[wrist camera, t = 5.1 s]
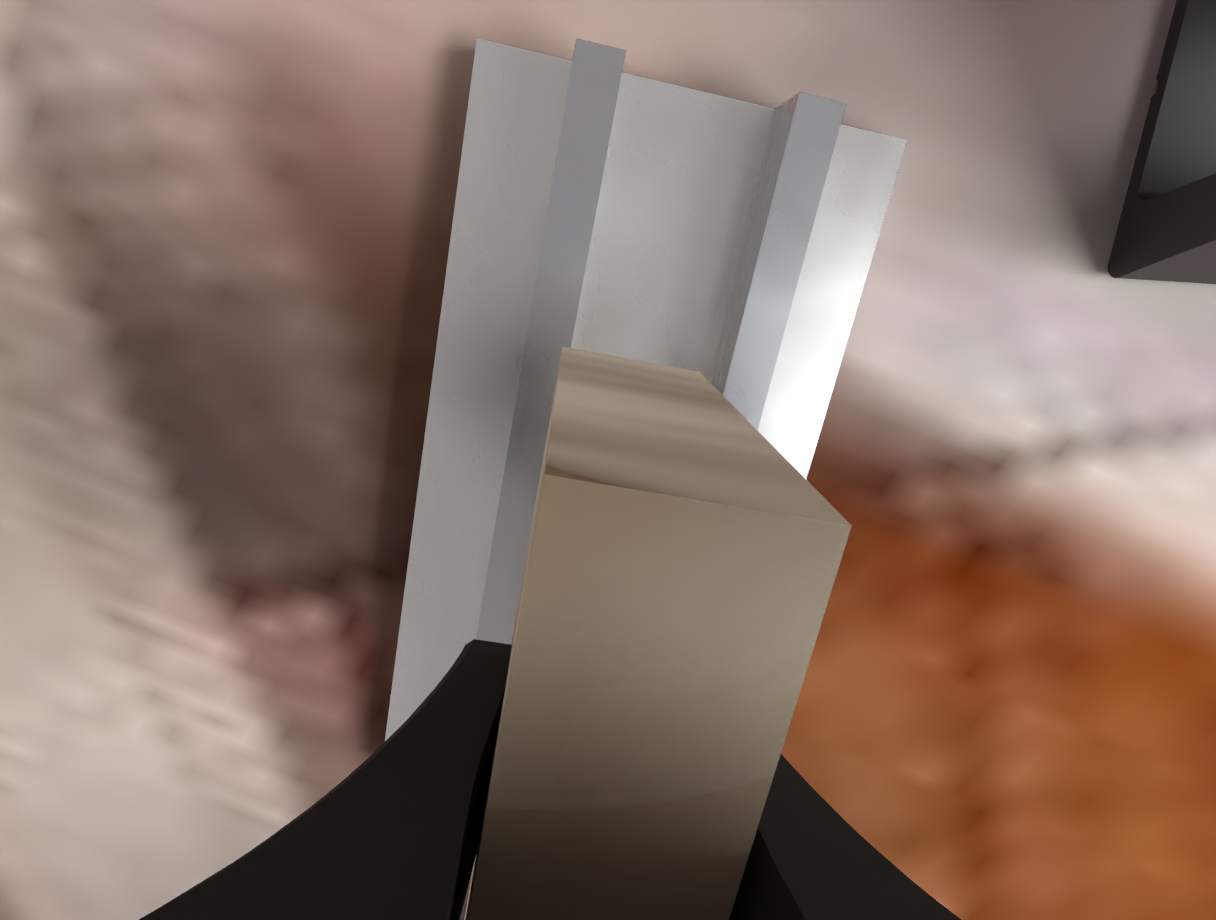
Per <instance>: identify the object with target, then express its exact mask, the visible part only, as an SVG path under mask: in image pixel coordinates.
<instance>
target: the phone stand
mask: <svg viewBox="0 0 1216 920" xmlns="http://www.w3.org/2000/svg"><path fill="white" fill-rule="evenodd" d="M1156 80H1160V88H1159V90H1158V92H1157V93H1156V94H1155V95H1154V96H1152V98H1151V102H1150V105H1149V109H1148V113H1147V117H1146V121H1145V125H1144V129H1143V132H1142V136H1141V140H1140V144H1139V148H1138V152H1137V156H1136V159H1135V163H1134V167H1133V171H1132V175H1131V179H1130V183H1129V186H1128V190H1127V194H1126V198H1125V202H1124V206H1123V210H1122V213H1121V217H1120V221H1119V225H1118V229H1117V233H1116V237H1115V240H1114V244H1113V248H1112V252H1111V256H1110V260H1109V264H1108V271H1109V274H1110V275H1111V276H1112V277H1114V278H1127V279H1143V280H1159V281H1175V282H1191V283H1207V284H1216V0H1177V1H1176V5H1175V9H1174V13H1173V17H1172V21H1171V24H1170V28H1169V32H1168V36H1167V40H1166V44H1165V48H1164V51H1163V55H1162V59H1161V63H1160V67H1159V71H1158V75H1157V78H1156Z"/></svg>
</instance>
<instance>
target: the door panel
mask: <svg viewBox="0 0 1216 920" xmlns="http://www.w3.org/2000/svg"><path fill="white" fill-rule="evenodd" d="M850 529H851V525H850V524H849V523H848V522H847V521H846V520H845V519H844V518H843V516H842V515H841V514H840V513H839V512H838V511H837V510H836V509H835V508H834V507H833V506H832V505H831V504H830V503H829V502H828V501H827V500H826V499H825V498H824V497H823V496H822V495H821V494H820V493H819V492H818V491H817V490H816V489H815V488H814V487H813V486H812V485H811V484H810V483H809V482H808V481H807V480H806V479H805V478H804V477H803V476H802V475H801V474H800V473H799V472H798V471H797V470H796V469H795V468H794V467H793V466H792V465H791V464H790V463H789V462H788V461H787V460H786V459H785V458H784V457H783V456H782V455H781V454H780V453H779V452H778V451H777V450H776V449H775V448H774V447H773V446H772V445H771V444H770V443H769V442H768V441H767V440H766V439H765V438H764V437H763V436H762V435H761V434H760V433H759V432H758V431H757V430H756V429H755V428H754V427H753V426H752V425H751V424H750V423H749V422H748V421H747V420H746V419H745V418H744V416H743V415H742V414H741V413H740V412H739V411H738V410H737V409H736V408H735V407H734V406H733V405H732V404H731V403H730V402H729V401H728V400H727V399H726V398H725V397H724V396H723V395H722V394H721V393H720V392H719V391H718V390H717V389H716V388H715V387H714V386H713V385H712V384H711V383H710V382H709V381H708V380H707V379H706V378H705V377H704V376H703V375H702V374H701V373H700V372H698V371H692V370H687V369H682V368H676V367H671V366H665V365H660V364H655V363H649V362H644V361H638V360H633V359H628V358H622V357H617V356H612V355H606V354H601V353H595V352H590V351H585V350H579V349H574V348H568V347H563V346H562V351H561V357H560V363H559V369H558V374H557V380H556V386H555V392H554V398H553V403H552V409H551V415H550V421H549V427H548V433H547V438H546V444H545V450H544V456H543V462H542V467H541V473H540V479H539V485H538V491H537V496H536V502H535V508H534V514H533V520H532V526H531V531H530V537H529V543H528V549H527V555H526V560H525V566H524V572H523V578H522V584H521V589H520V595H519V601H518V607H517V613H516V619H515V624H514V630H513V636H512V642H511V645H512V648H511V654H510V661H509V667H508V674H507V680H506V686H505V692H504V698H503V704H502V709H501V715H500V721H499V727H498V733H497V738H496V744H495V750H494V756H493V761H492V767H491V773H490V779H489V785H488V790H487V796H486V802H485V808H484V814H483V819H482V825H481V831H480V837H479V842H478V848H477V854H476V858H475V862H474V865H473V870H472V876H471V882H470V888H469V894H468V900H467V906H466V912H465V918H464V920H729V918H730V915H731V912H732V909H733V905H734V902H735V899H736V896H737V892H738V889H739V886H740V883H741V880H742V876H743V873H744V870H745V867H746V864H747V860H748V857H749V854H750V851H751V847H752V844H753V841H754V838H755V835H756V831H757V828H758V825H759V822H760V819H761V815H762V812H763V809H764V806H765V802H766V799H767V796H768V793H769V790H770V786H771V783H772V780H773V777H774V774H775V770H776V767H777V764H778V761H779V757H780V754H781V751H782V748H783V745H784V741H785V738H786V735H787V732H788V729H789V725H790V722H791V719H792V716H793V712H794V709H795V706H796V703H797V700H798V696H799V693H800V690H801V687H802V684H803V680H804V677H805V674H806V671H807V667H808V664H809V661H810V658H811V655H812V651H813V648H814V645H815V642H816V638H817V635H818V632H819V629H820V626H821V622H822V619H823V616H824V613H825V610H826V606H827V603H828V600H829V597H830V593H831V590H832V587H833V584H834V581H835V577H836V574H837V571H838V568H839V565H840V561H841V558H842V555H843V552H844V548H845V545H846V542H847V539H848V536H849V532H850Z"/></svg>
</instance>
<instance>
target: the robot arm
mask: <svg viewBox="0 0 1216 920" xmlns="http://www.w3.org/2000/svg"><path fill="white" fill-rule="evenodd" d="M511 648H512V645H511V644H504V643H497V642H490V641H484V640H477V639H474V640H472V641H470V642H469V643H467V644H466V645H465V646H464V648H463V650H462V652H461V653H460V655H459V656H458V658H457V660H456V661H455V662H454V664H453V665H452V667H451V668H450V669H449V671H448V672H447V673H446V675H445V676H444V677H443V678H442V680H441V681H440V682H439V684H438V685H437V686H436V687H435V688H434V690H433V691H432V692H431V693H430V694H429V695H428V697H427V698H426V699H425V700H424V701H423V702H422V703H421V704H420V706H419V707H418V708H417V709H416V710H415V711H414V712H413V714H412V715H411V716H410V717H409V718H408V719H407V720H406V721H405V722H404V723H403V724H402V725H401V726H400V727H399V728H398V729H397V730H396V731H395V732H394V733H393V734H392V735H391V736H390V737H389V738H388V739H387V740H386V741H385V742H384V743H383V744H382V745H381V746H380V747H379V748H378V749H377V750H376V751H375V752H374V753H373V754H372V755H371V756H370V757H369V758H368V759H367V760H366V761H365V762H363V763H362V764H361V765H360V766H359V767H358V768H357V769H356V770H355V771H353V772H352V773H351V774H350V775H349V776H348V777H347V778H345V779H344V780H343V781H342V782H341V783H340V784H338V785H337V786H336V787H335V788H334V789H332V790H331V791H330V792H329V793H327V794H326V795H325V796H324V797H323V798H321V799H320V800H319V801H318V802H316V803H315V804H314V805H313V806H311V807H310V808H309V809H308V810H306V811H305V812H303V813H302V814H301V815H299V816H298V817H297V818H295V819H294V820H293V821H291V822H290V823H289V824H287V825H286V826H284V827H283V828H282V829H280V830H279V831H278V832H276V833H275V834H274V835H272V836H271V837H270V838H268V839H267V840H265V841H264V842H263V843H261V844H260V845H258V846H257V847H255V848H254V849H252V850H251V851H250V852H248V853H247V854H245V855H244V856H242V857H241V858H239V859H238V860H236V861H235V862H233V863H232V864H230V865H228V866H227V867H225V868H223V869H222V870H220V871H219V872H217V873H215V874H214V875H212V876H210V877H209V878H207V879H206V880H204V881H202V882H201V883H199V884H197V885H196V886H194V887H193V888H191V889H189V890H188V891H186V892H184V893H183V894H181V895H180V896H178V897H176V898H175V899H173V900H171V901H170V902H168V903H167V904H165V905H163V906H162V907H160V908H158V909H157V910H155V911H153V912H151V913H150V914H148V915H146V916H144V917H143V918H141V919H139V920H459V919H460V915H461V911H462V908H463V904H464V900H465V896H466V892H467V888H468V885H469V881H470V877H471V873H472V869H473V865H474V862H475V858H476V854H477V848H478V842H479V837H480V831H481V825H482V819H483V814H484V808H485V802H486V796H487V790H488V785H489V779H490V773H491V767H492V761H493V756H494V750H495V744H496V738H497V733H498V727H499V721H500V715H501V709H502V704H503V698H504V692H505V686H506V680H507V674H508V667H509V661H510V654H511ZM729 920H961V919H960V918H958V917H957V916H956V915H954V914H953V913H952V912H950V911H949V910H948V909H947V908H945V907H944V906H943V905H941V904H940V903H939V902H937V901H936V900H935V899H934V898H932V897H931V896H930V895H929V894H927V893H926V892H925V891H924V890H923V889H921V888H920V887H919V886H918V885H916V884H915V883H914V882H913V881H912V880H910V879H909V878H908V877H907V876H906V875H905V874H903V873H902V872H901V871H900V870H899V869H898V868H897V867H895V866H894V865H893V864H892V863H891V862H890V861H889V860H887V859H886V858H885V857H884V856H883V855H882V854H881V853H879V852H878V851H877V850H876V849H875V848H874V847H873V846H871V845H870V844H869V843H868V842H867V841H866V840H865V839H864V838H863V837H862V836H860V835H859V834H858V833H857V832H856V831H855V830H854V829H853V828H852V827H851V826H850V825H849V824H848V823H847V822H846V821H845V820H844V819H843V818H842V817H841V816H840V815H839V814H838V813H837V812H836V811H835V810H834V809H833V808H832V807H831V806H830V805H829V804H828V803H827V802H826V801H825V800H824V799H823V798H822V797H821V796H820V795H819V794H818V793H817V792H816V791H815V790H814V789H813V788H812V787H811V786H810V785H809V784H808V783H807V782H806V781H805V780H804V779H803V777H802V776H801V775H800V774H799V773H798V772H797V771H796V770H795V769H794V768H793V767H792V766H791V764H790V763H789V762H788V761H787V760H786V759H785V758H784V757H783V756H782V754H780V757H779V761H778V764H777V767H776V770H775V774H774V777H773V780H772V783H771V786H770V790H769V793H768V796H767V799H766V802H765V806H764V809H763V812H762V815H761V819H760V822H759V825H758V828H757V831H756V835H755V838H754V841H753V844H752V847H751V851H750V854H749V857H748V860H747V864H746V867H745V870H744V873H743V876H742V880H741V883H740V886H739V889H738V892H737V896H736V899H735V902H734V905H733V909H732V912H731V915H730V918H729Z"/></svg>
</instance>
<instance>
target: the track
mask: <svg viewBox="0 0 1216 920" xmlns="http://www.w3.org/2000/svg"><path fill="white" fill-rule="evenodd" d="M625 54H626V50H622V49H618V48H614V47H610V46H606V45H601V44H597V43H593V42H589V41H585V40H581V39H576V43H575V49H574V55H573V60H568V59H564V58H560V57H556V56H552V55H547V54H543V53H539V52H535V51H530V50H526V49H522V48H518V47H514V46H509V45H505V44H501V43H497V42H493V41H488V40H484V39H480V38H477V40H476V47H475V55H474V63H473V70H472V78H471V85H470V93H469V101H468V108H467V116H466V124H465V131H464V139H463V147H462V154H461V162H460V170H459V177H458V185H457V192H456V200H455V208H454V215H453V223H452V231H451V238H450V246H449V254H448V261H447V269H446V277H445V284H444V292H443V300H442V307H441V315H440V322H439V330H438V338H437V345H436V353H435V361H434V368H433V376H432V384H431V391H430V399H429V407H428V414H427V422H426V429H425V437H424V445H423V452H422V460H421V468H420V475H419V483H418V491H417V498H416V506H415V514H414V521H413V529H412V536H411V544H410V552H409V559H408V567H407V575H406V582H405V590H404V598H403V605H402V613H401V621H400V628H399V636H398V644H397V651H396V659H395V666H394V674H393V682H392V689H391V697H390V705H389V712H388V720H387V728H386V735H385V741H386V740H387V739H388V738H389V737H390V736H391V735H392V734H393V733H394V732H395V731H396V730H397V729H398V728H399V727H400V726H401V725H402V724H403V723H404V722H405V721H406V720H407V719H408V718H409V717H410V716H411V715H412V714H413V712H414V711H415V710H416V709H417V708H418V707H419V706H420V704H421V703H422V702H423V701H424V700H425V699H426V698H427V697H428V695H429V694H430V693H431V692H432V691H433V690H434V688H435V687H436V686H437V685H438V684H439V682H440V681H441V680H442V678H443V677H444V676H445V675H446V673H447V672H448V671H449V669H450V668H451V667H452V665H453V664H454V662H455V661H456V660H457V658H458V656H459V655H460V653H461V652H462V650H463V648H464V646H465V645H466V644H467V643H469V642H470V641H472V640H474V639H477V640H484V641H490V642H497V643H504V644H511V642H512V636H513V630H514V624H515V619H516V613H517V607H518V601H519V595H520V589H521V584H522V578H523V572H524V566H525V560H526V555H527V549H528V543H529V537H530V531H531V526H532V520H533V514H534V508H535V502H536V496H537V491H538V485H539V479H540V473H541V467H542V462H543V456H544V450H545V444H546V438H547V433H548V427H549V421H550V415H551V409H552V403H553V398H554V392H555V386H556V380H557V374H558V369H559V363H560V357H561V351H562V346H563V347H568V348H574V349H579V350H585V351H590V352H595V353H601V354H606V355H612V356H617V357H622V358H628V359H633V360H638V361H644V362H649V363H655V364H660V365H665V366H671V367H676V368H682V369H687V370H692V371H698V372H700V373H701V374H702V375H703V376H704V377H705V378H706V379H707V380H708V381H709V382H710V383H711V384H712V385H713V386H714V387H715V388H716V389H717V390H718V391H719V392H720V393H721V394H722V395H723V396H724V397H725V398H726V399H727V400H728V401H729V402H730V403H731V404H732V405H733V406H734V407H735V408H736V409H737V410H738V411H739V412H740V413H741V414H742V415H743V416H744V418H745V419H746V420H747V421H748V422H749V423H750V424H751V425H752V426H753V427H754V428H755V429H756V430H757V431H758V432H759V433H760V434H761V435H762V436H763V437H764V438H765V439H766V440H767V441H768V442H769V443H770V444H771V445H772V446H773V447H774V448H775V449H776V450H777V451H778V452H779V453H780V454H781V455H782V456H783V457H784V458H785V459H786V460H787V461H788V462H789V463H790V464H791V465H792V466H793V467H794V468H795V469H796V470H797V471H798V472H799V473H800V474H801V475H802V476H803V477H804V478H805V479H806V478H807V475H808V472H809V468H810V465H811V462H812V458H813V455H814V451H815V448H816V445H817V441H818V438H819V435H820V431H821V428H822V425H823V421H824V418H825V415H826V411H827V408H828V405H829V401H830V398H831V394H832V391H833V388H834V384H835V381H836V378H837V374H838V371H839V368H840V364H841V361H842V358H843V354H844V351H845V348H846V344H847V341H848V337H849V334H850V331H851V327H852V324H853V321H854V317H855V314H856V311H857V307H858V304H859V301H860V297H861V294H862V291H863V287H864V284H865V280H866V277H867V274H868V270H869V267H870V264H871V260H872V257H873V254H874V250H875V247H876V244H877V240H878V237H879V233H880V230H881V227H882V223H883V220H884V217H885V213H886V210H887V207H888V203H889V200H890V197H891V193H892V190H893V187H894V183H895V180H896V176H897V173H898V170H899V166H900V163H901V160H902V156H903V153H904V150H905V146H906V143H907V140H906V139H901V138H897V137H893V136H889V135H885V134H880V133H876V132H872V131H868V130H864V129H859V128H855V127H851V126H847V125H842V124H841V121H842V118H843V114H844V110H845V107H846V103H843V102H838V101H834V100H830V99H826V98H822V97H818V96H813V95H809V94H805V93H801V92H799V93H798V94H796V95H795V96H793V97H792V98H790V99H789V100H787V101H786V102H784V103H783V104H782V105H780V106H779V107H777V108H776V109H775V108H771V107H767V106H762V105H758V104H754V103H750V102H745V101H741V100H737V99H733V98H729V97H724V96H720V95H716V94H712V93H708V92H703V91H699V90H695V89H691V88H686V87H682V86H678V85H674V84H670V83H665V82H661V81H657V80H653V79H649V78H644V77H640V76H636V75H632V74H627V73H623V72H622V70H623V65H624V59H625Z"/></svg>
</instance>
